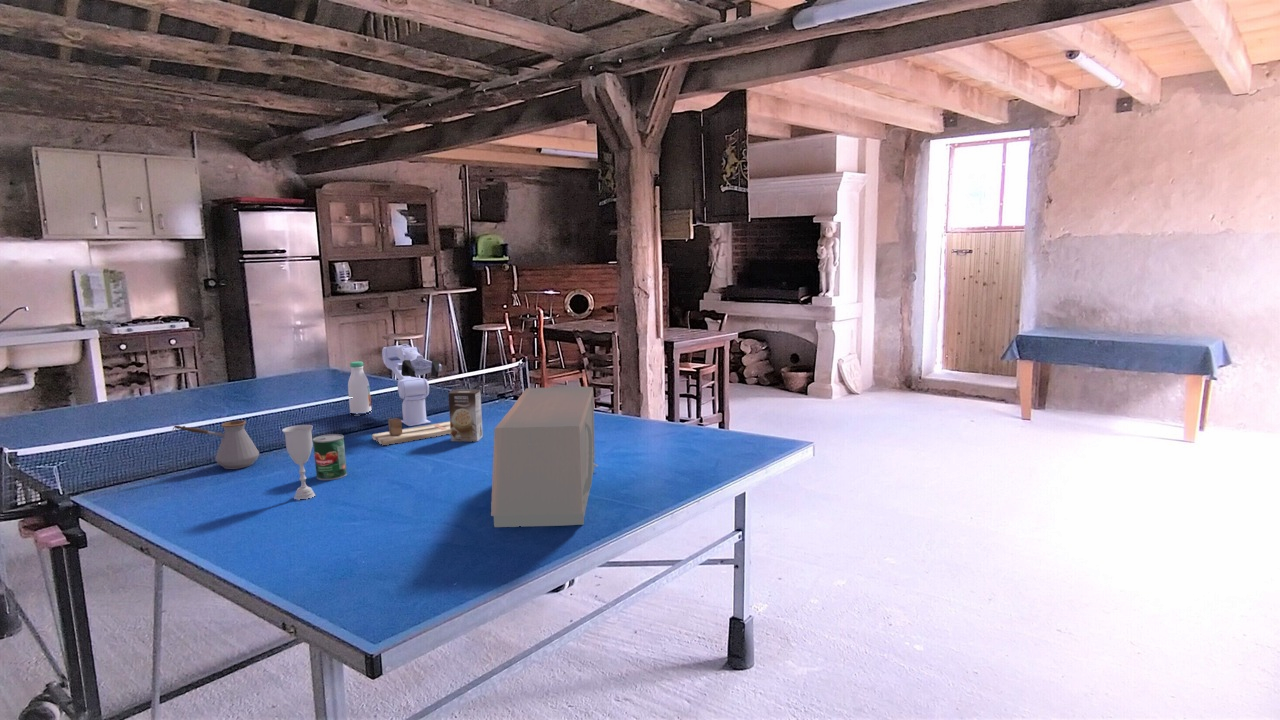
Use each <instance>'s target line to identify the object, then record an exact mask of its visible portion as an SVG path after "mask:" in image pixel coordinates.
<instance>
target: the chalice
mask: <svg viewBox="0 0 1280 720" xmlns="http://www.w3.org/2000/svg"><path fill="white" fill-rule="evenodd" d="M313 428H314V426H313V425H312V424H298V425H291V426H287V427H284V428H283V429H281V430H282V432H283V434H284V439H285V447H286V448H285V449H286V451H287V453H288V455H289V457H290V458H291V459H292V461H293V462H294V463H295V465H296V464H297V465H298V466H299V471H298V473H299V475H300V477H299V478H298V480H299V481H300V483H301V485H300V486H299V487H298V488H297V489H296V492H295V493H294V497H293V499H294V500H295V499H298V500H297V501H301V500H300V499H306V500H309V499H308V498H310V499H312V497H313V498H315V497H316V493H315V492H314V490H313V488H312V487H310V486H308V485H307V484H306V479H307V477H306V475H305V474H306V469H305V464H306V463H307V462H308V461H309V459H310V456H311V454H312V450H313V447H314V446H313V435H312V430H313ZM314 496H315V497H314Z"/></svg>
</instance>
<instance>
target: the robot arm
mask: <svg viewBox="0 0 1280 720" xmlns="http://www.w3.org/2000/svg"><path fill="white" fill-rule="evenodd" d="M381 356H382V362H383V364H384V365H385V366H386V368H387V369H389V370H391V371H392V373H393V374H394V375H395V377H396V379H397V380H398V381H397V392H398V396H399V398H400V399H401V400H403V401H402V404H401V411H402V419H400V420H401V423H402V424H404V425H406V426H408V427H411V426H413V427H415V426H419V425H420V426H421V425H424V424H425V425H427V424H431V420H428V419H427V409H426V406H427V405H426V399H427V397H428V395H429V394H430V386H429V385H430V384H429V381H428V379H427V378H421V377H415V376H423V375H426V374H429V373H430V376H431V377H434V378H439V372H442V368H443V367H442V364H441V363H440V361H439V360H433V359H432V360H428V359H426V358H424V356H423V355H422V354H421V351H420V347H419V346H411V345H408V344H407V343H403V344H401V345H391V346H390V345H389V346H383V348H382V351H381Z"/></svg>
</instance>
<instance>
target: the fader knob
mask: <svg viewBox="0 0 1280 720" xmlns="http://www.w3.org/2000/svg"><path fill="white" fill-rule="evenodd" d="M401 420H402V419H400V418H399V417H394V418H388V430H389V431H388V432H389V434H391V435H393V436H395V435H401V434H402V429H403V425H402V424H403V423H402V422H401Z"/></svg>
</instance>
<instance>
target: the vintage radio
mask: <svg viewBox="0 0 1280 720" xmlns="http://www.w3.org/2000/svg"><path fill="white" fill-rule="evenodd" d="M594 414H595V407H594V387H593V386H565V387H564V386H562V387H559V386H557V387H555V386H554V387H529V388H525V389H524V390H523V392H522V393H521V394H520V395H519V397H518V398H517V400H516V401H515V402H514V404H513V405H512V407H510V409H509V410H508V411H507V412H506V414H505V415H504V416H503V417H502V419H501V420H500V421H499V422H498V423H497V425H496V426H495V427H494V429H493V431H494V435H493V455H492V475H491V476H492V477H491V478H492V479H491V481H492V483H491V501H490V505H491V506H490V510H491V512H490V516H491V517H493V525H494V528H508V527H509V528H517V527H519V526H521V527H555V526H556V527H558V526H562V527H564V526H575V525H576V526H577V525H578V526H579V525H585V515H586V510H587V506H588V500H589V496H590V490H591V488H592V484H593V475H594V472H595V467H599V465H598V464H596V463H595V455H596V454H595V450H596V449H595V415H594ZM519 528H520V527H519Z"/></svg>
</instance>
